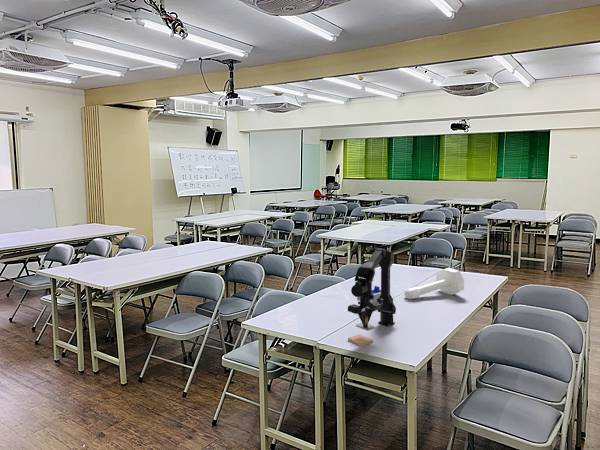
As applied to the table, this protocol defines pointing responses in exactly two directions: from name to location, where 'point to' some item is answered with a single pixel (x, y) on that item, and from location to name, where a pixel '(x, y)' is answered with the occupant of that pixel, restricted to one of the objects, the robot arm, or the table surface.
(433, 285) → the white mallet
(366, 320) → the float
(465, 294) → the table surface
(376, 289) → the cable clip
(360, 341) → the tile
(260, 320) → the table surface
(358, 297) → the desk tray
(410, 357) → the table surface
